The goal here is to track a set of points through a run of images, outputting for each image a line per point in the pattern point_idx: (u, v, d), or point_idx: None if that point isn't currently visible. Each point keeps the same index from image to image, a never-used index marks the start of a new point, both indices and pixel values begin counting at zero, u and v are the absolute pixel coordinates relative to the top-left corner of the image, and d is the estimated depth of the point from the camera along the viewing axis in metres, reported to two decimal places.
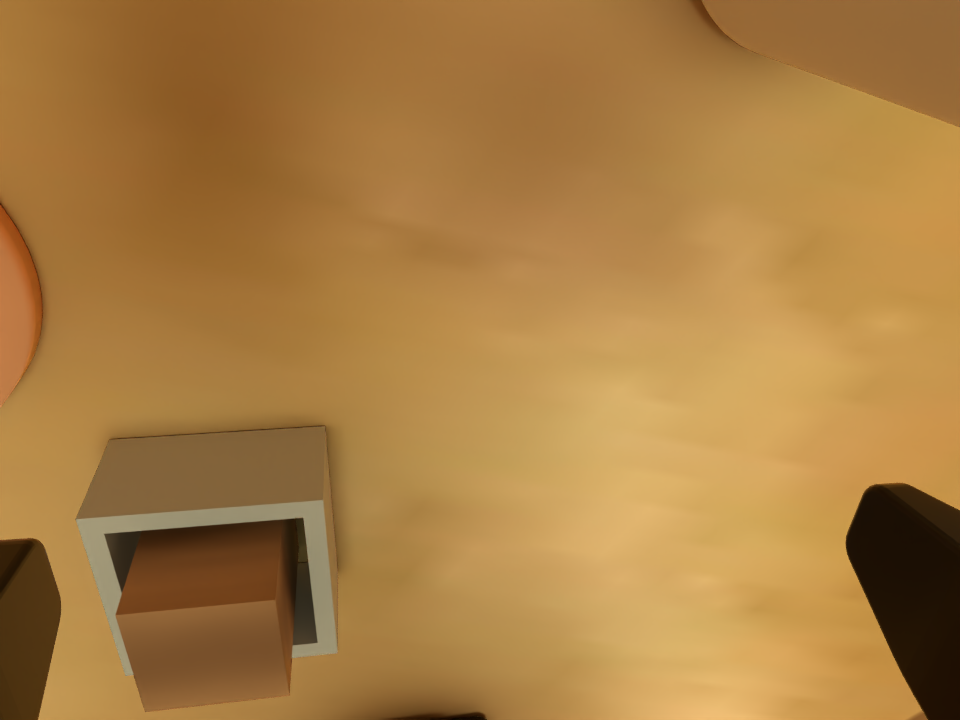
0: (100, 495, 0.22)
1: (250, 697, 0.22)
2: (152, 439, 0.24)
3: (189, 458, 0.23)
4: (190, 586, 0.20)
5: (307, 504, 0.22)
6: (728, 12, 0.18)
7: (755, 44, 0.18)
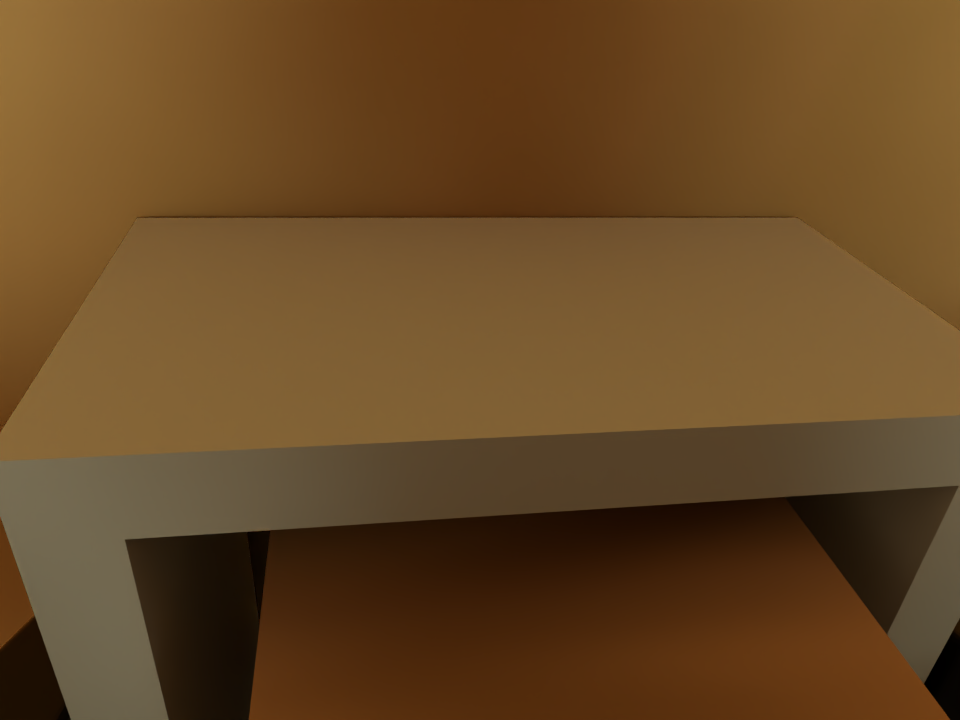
0: None
1: None
2: None
3: None
4: None
5: (34, 521, 0.04)
6: None
7: None
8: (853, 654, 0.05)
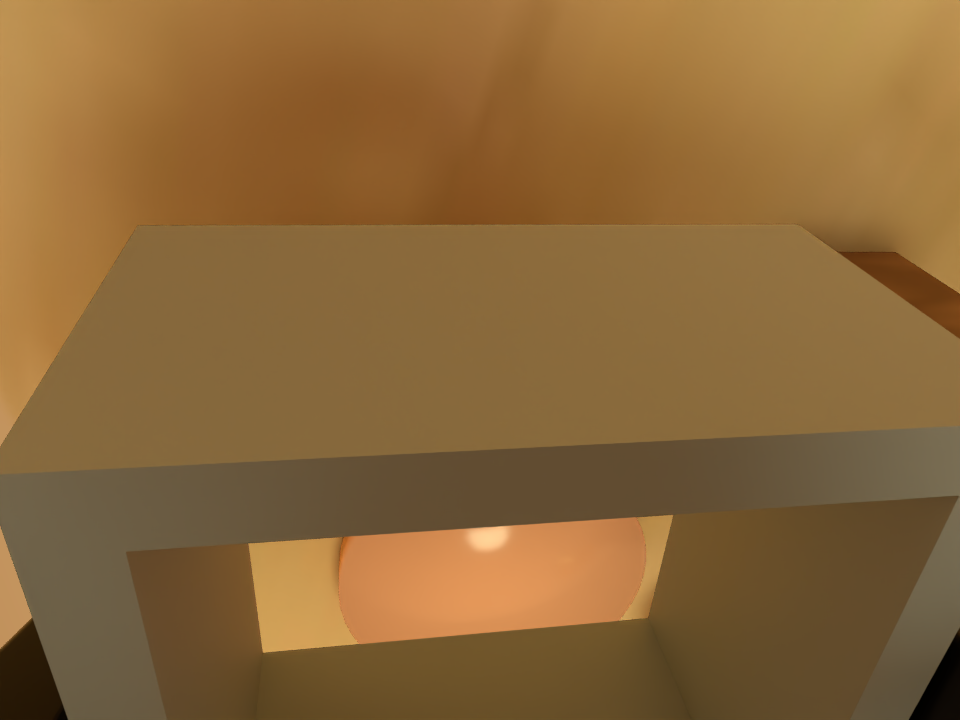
0: None
1: None
2: None
3: None
4: None
5: (36, 533, 0.04)
6: None
7: None
8: None
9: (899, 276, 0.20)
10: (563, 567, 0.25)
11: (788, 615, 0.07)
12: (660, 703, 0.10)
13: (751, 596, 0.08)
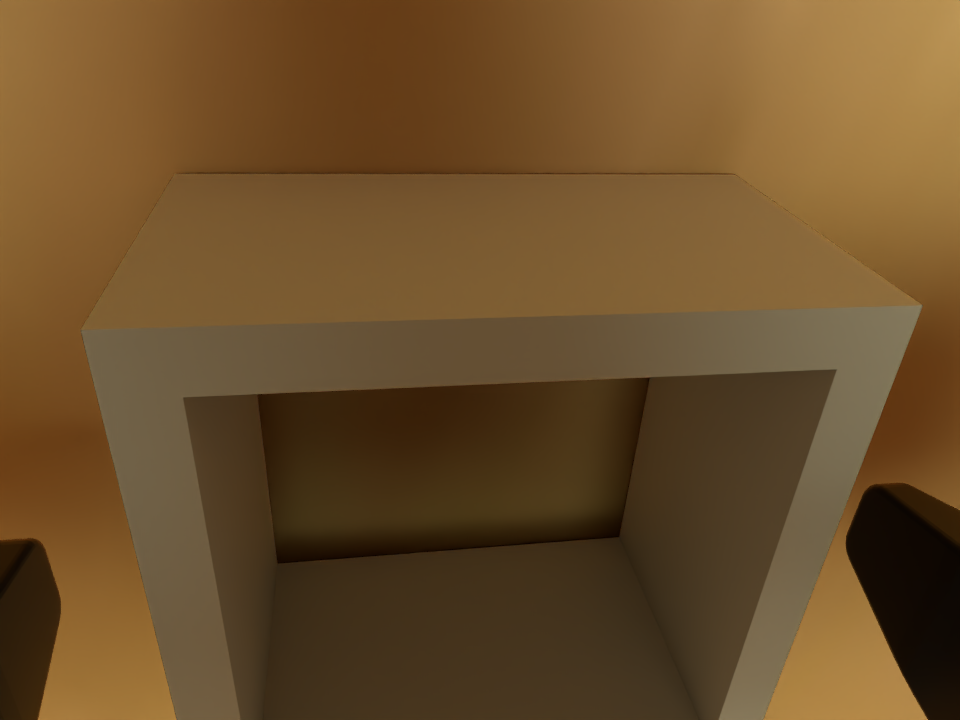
0: None
1: None
2: None
3: None
4: None
5: (116, 380, 0.06)
6: None
7: None
8: None
9: None
10: None
11: (723, 501, 0.09)
12: (626, 603, 0.11)
13: (696, 493, 0.09)
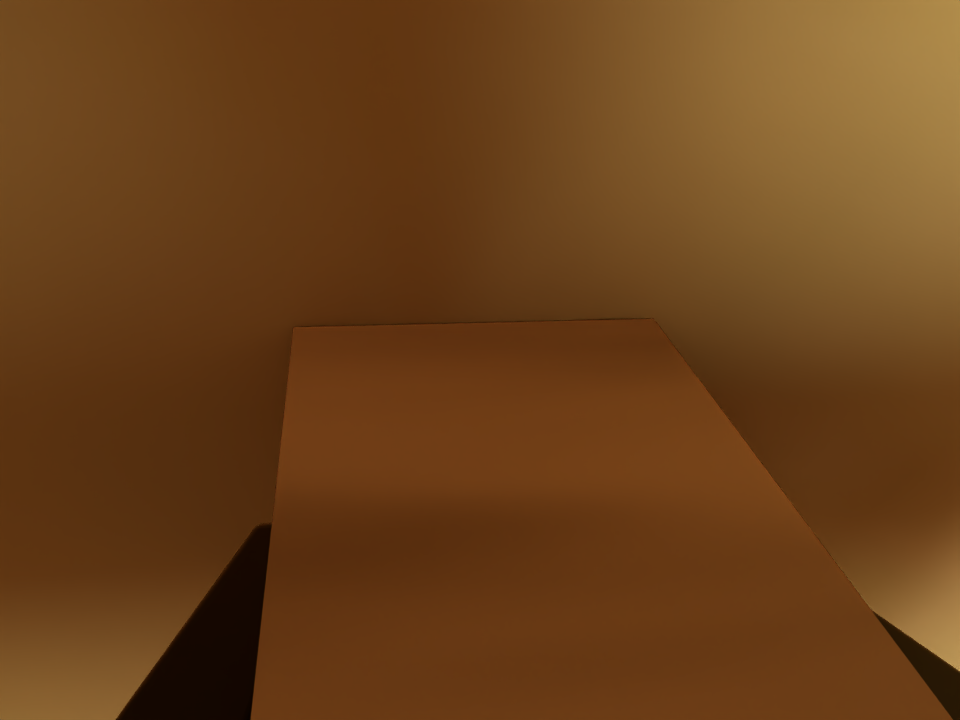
0: None
1: None
2: None
3: None
4: None
5: None
6: None
7: None
8: None
9: None
10: None
11: None
12: None
13: None
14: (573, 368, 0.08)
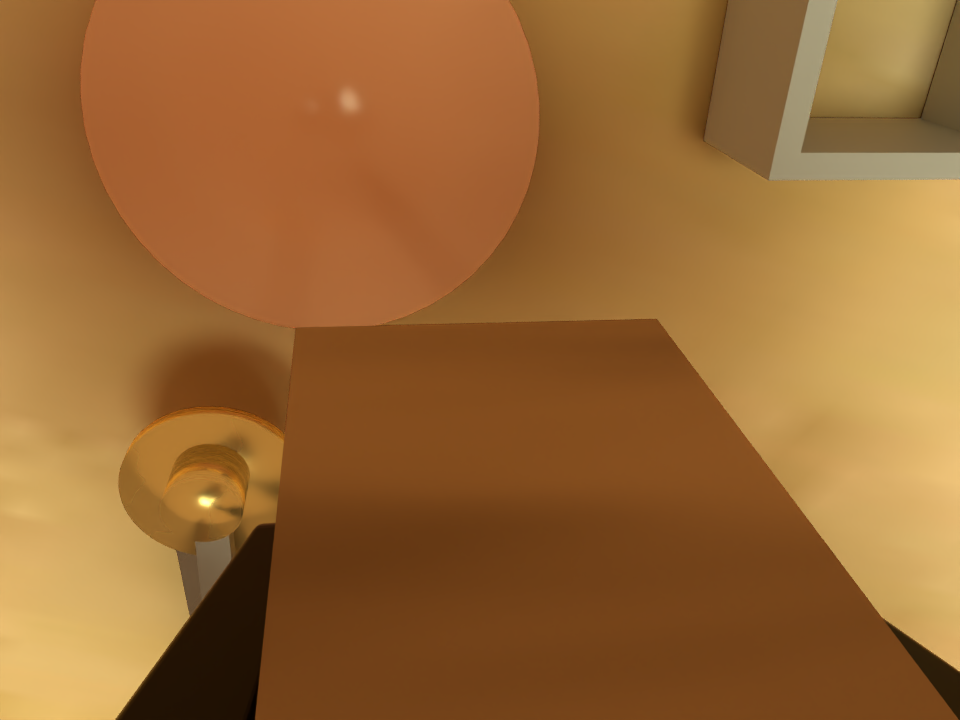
0: None
1: None
2: None
3: None
4: None
5: None
6: None
7: None
8: None
9: None
10: (350, 225, 0.18)
11: (895, 140, 0.18)
12: None
13: (865, 134, 0.18)
14: (577, 369, 0.08)
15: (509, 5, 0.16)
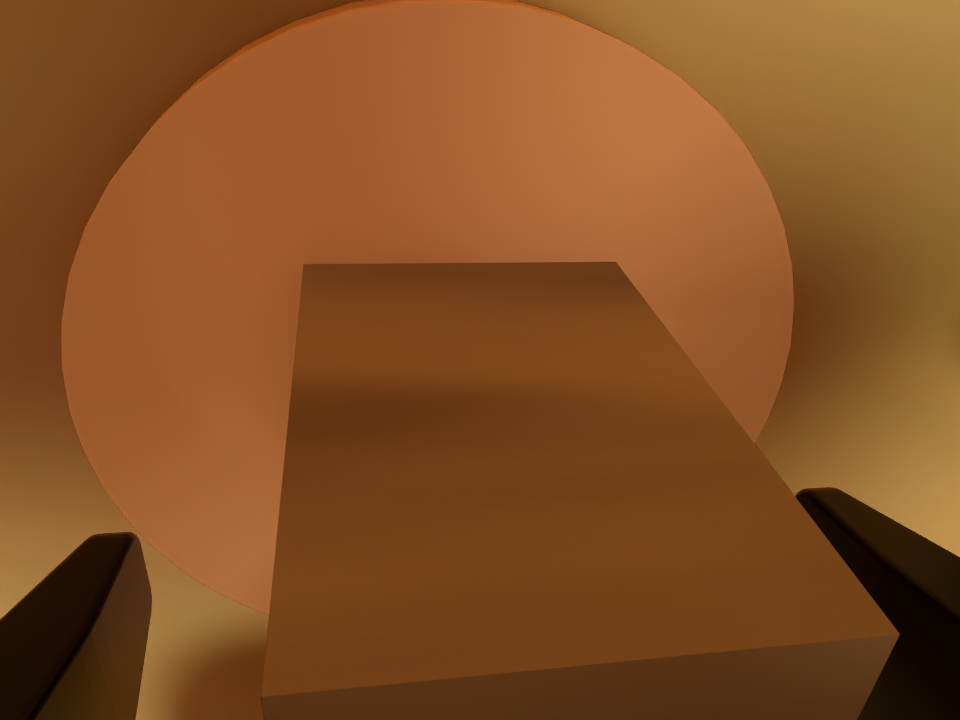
0: None
1: None
2: None
3: None
4: (532, 574, 0.05)
5: None
6: None
7: None
8: None
9: None
10: None
11: None
12: None
13: None
14: (543, 297, 0.09)
15: (774, 209, 0.10)
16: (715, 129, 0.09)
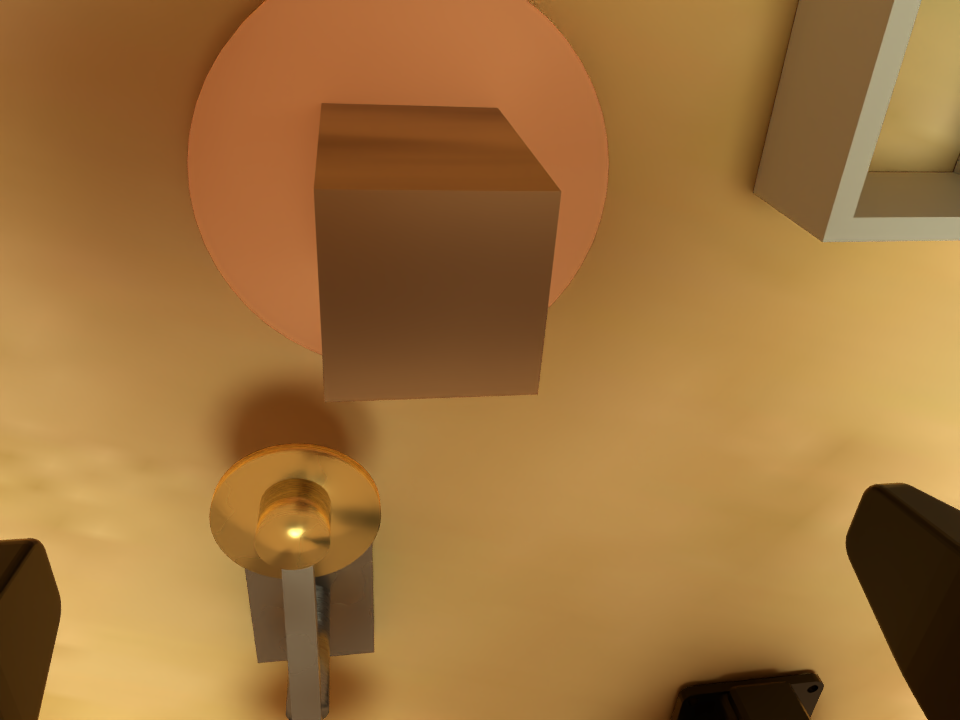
0: None
1: (481, 391, 0.14)
2: None
3: None
4: (419, 175, 0.13)
5: None
6: None
7: None
8: None
9: None
10: None
11: (935, 201, 0.19)
12: None
13: (907, 194, 0.20)
14: (451, 116, 0.17)
15: (587, 77, 0.18)
16: (547, 28, 0.17)
